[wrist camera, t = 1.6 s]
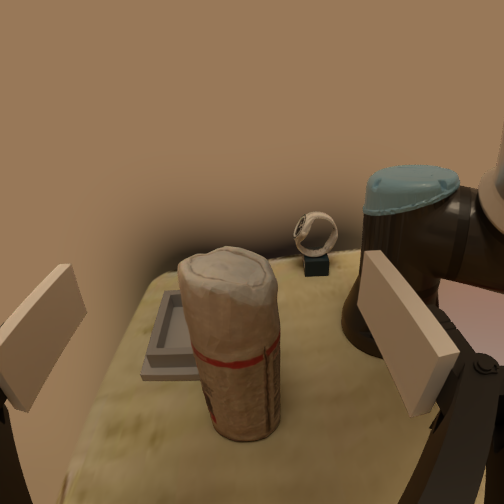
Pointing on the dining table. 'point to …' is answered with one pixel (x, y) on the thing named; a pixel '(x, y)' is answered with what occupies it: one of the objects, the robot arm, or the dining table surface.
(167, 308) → the holder dock
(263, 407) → the beige textured cylinder
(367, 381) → the dining table surface
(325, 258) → the watch
